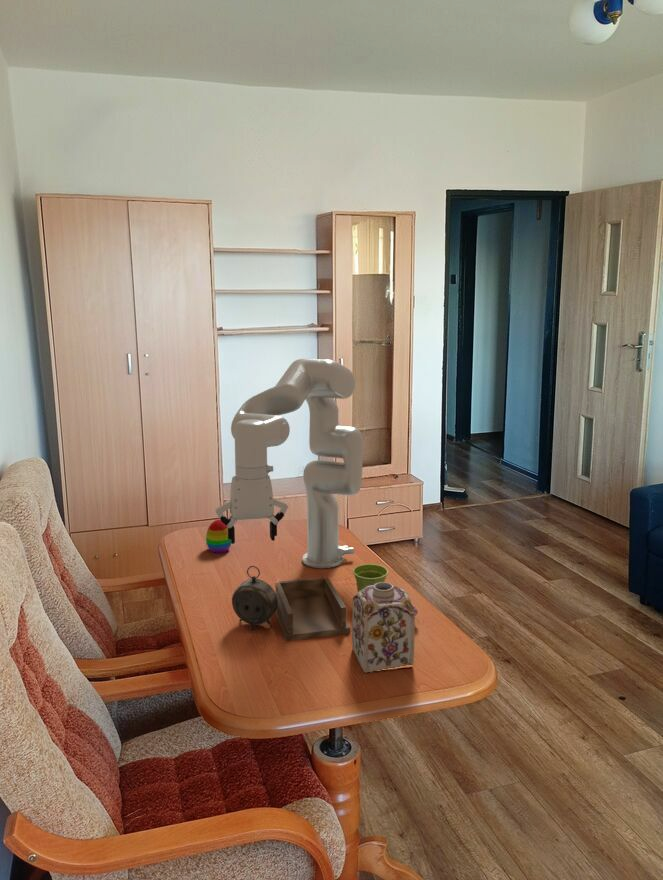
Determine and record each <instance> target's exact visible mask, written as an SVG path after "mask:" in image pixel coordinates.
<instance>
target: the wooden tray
mask: <svg viewBox="0 0 663 880" xmlns="http://www.w3.org/2000/svg"><path fill="white" fill-rule="evenodd" d="M275 593H276V596H277V600H278V605H277V609H276V611H275V613H274V614H275V616H276V618H277V621H278V624H279V627H280V629H281V632H282V634H283V637H284V639H285V642H290V641H298V640H307V639H315V638H322V637H330V636H338V635H339V634H340V635H346V633H348V634H351V626H350V624H349V623H348V621H347V607H346V605H345V603H344V602H343V600H342V598H341V597H340V595H339V593H338V591H337V589H336V588H335V586H334V585H333V582H332V581H331V579H330V578H329V577H325V576H319V577H318V576H317V577H310V578H309V577H307V578H299V579H290V580H280V581H278V582H276V583H275Z"/></svg>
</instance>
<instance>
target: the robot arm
mask: <svg viewBox="0 0 663 880" xmlns="http://www.w3.org/2000/svg"><path fill="white" fill-rule="evenodd" d="M355 389H356V379H355V375H354V374H353V371H352V370H350V369H349V367H346V366H344V365H343V364H341V363H340V362H337V361H335V360H332V359H321V358H320V359H318V358H299V359H296V360H294V361H293V362H291V364H290V365H289V366H288V368H287V369H286V371H285V372H284V373H283V375H282V376H281V377H280V379H279V380H278V382H277V383H276V384H275V385H274V386H273V387H270V388H268V389H266V390H264V391H262V392H260V393H258V394H255V395H253V396H252V397H250V398H248V399H247V400H246V401H245V402H243V404H242V405H241V406H240V408H239V409H238V410H237V412H236V413H235V415H234V417H233V419H232V421H231V426H230V432H231V433H230V434H231V435H232V438H233V439H234V461H235V462H234V463H235V464H234V467H235V469H234V470H235V471H234V472H235V473H234V474H235V476H234V475H233V476H232V477H231V481H230V490H229V491H230V493H229V494H230V495H229V501H227V502H226V503H224V504H222V505H221V506H219V507H217V508H215V514H216V515H217V517H218V518H219V520H221V522H223V523H224V524H225V525H226V526H227V527H228V540H230V539H231V545H234V544H235V543H236V537H235V536H236V535H235V533H236V532H235V531H236V530H235V526H234V525H236V522H237V521H244V520H246V521H247V520H248V521H249V520H259V519H269V520H270V521H269V539H270V540H271V541H275V539H276V538H275V537H276V536H278V525H279V522H280V521H281V520H282V519H283V518H284V517H285V514H286V512H287V510H288V509H289V506H288V505H287V503H285V502H282V501H280V500H277V499H275V498H274V493H273V486H272V485H273V484H272V481H271V476H270V475H269V473H271V472H273V473H274V466H273V465H269V464H268V448H271V447H279V446H281V445H282V444H284V443H285V442H286V441H287V439H288V438H289V436H290V432H291V430H290V429H291V427H290V424H289V422H288V420H287V419H286V418H285V417H283V415H286V414H290V413H293V412H296V411H297V410H299V409H300V408H301V407H302V405H303V404H304V402H305V401H306V403H307V405H308V408H309V442H308V443H309V444H308V445H309V450H310V452H311V453H312V454H313V455H314V456H315V455H316V456H319V457H326V458H336V459H343V462H342V461H341V462H340V461H331V460H324V459H323V460H319V459H318V460H312V461H310V462H308V463H306V465H305V467H304V469H303V472H302V473H303V474H302V475H303V483H304V488H305V495H306V524H307V525H306V531H307V533H306V534H307V535H306V536H307V540H306V541H307V542H306V543H307V544H306V545H307V546H306V547H307V552H305V553H304V554H303V555H302V560H301V561H302V562H303V564H305V565H306V566H308V567H311V568H314V569H331V567H332V568H336V567H338V566H340V565H341V564H343V562H344V556H345V555H353V554H355V550H354V547H348V545H343V546H341V545H340V544H339V504H338V501H337V499H336V497H335V496H334V495H338V496H339V495H342V496H355V495H358V493H359V492H360V490H361V487H362V481H363V457H364V455H363V453H364V440H363V439H364V438H363V436H362V433H361V431H360V430H359V429H358V428H356V427H354V426H348V425H347V426H346V425H340V423H339V413H340V412H339V411H340V410H339V407H338V404H337V402H336V400H335V399H340V400H342V399H343V400H345V399H348V398H350V397H351V396H352V395H353V394H354V391H355ZM275 507H277V508H279V511H278V512H277V513H276V514H275V513H274V511H275ZM228 510H229V512H230V514H231V515H230V516H229V517H226V516H225V515H224V513H225V512H226V511H228ZM274 514H275V515H274Z"/></svg>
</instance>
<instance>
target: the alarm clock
mask: <svg viewBox="0 0 663 880" xmlns="http://www.w3.org/2000/svg"><path fill="white" fill-rule="evenodd" d="M250 568H255V569H256V570H257V571H258V575H257V576H255V575H253V576H251V575H250V574H249V570H250ZM246 574H247V576H248V577H249V578H248V579H246V580H244V581H243V582H241V584H240V585H239V586H238V587H237V588H236V589H235V590H234V592H233V594H232V597H231V606H232V608H233V611H234V613H235V615H236V616H237V617H238V618H239V622H240V623H241V622H242V621H243V622H244V623H245V624H249V628H248V629H249V631H252V630H253V626H259V625H263V624H265V623H267V624H268V625H269V627H270V628H273V625H272V622H271V621H270V619H271V617H272V616H273V615H275V614H276V613H275V611H276V609H277V605H278V600H277V596H276V590H274V588H273V587H272V586H271V584H268V583H267V582H266V581H264V580H261V579H259V576H260V575H261V572H260V569H259V568H258V567H257V566H255V565H250V566H248V568H247V570H246Z"/></svg>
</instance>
